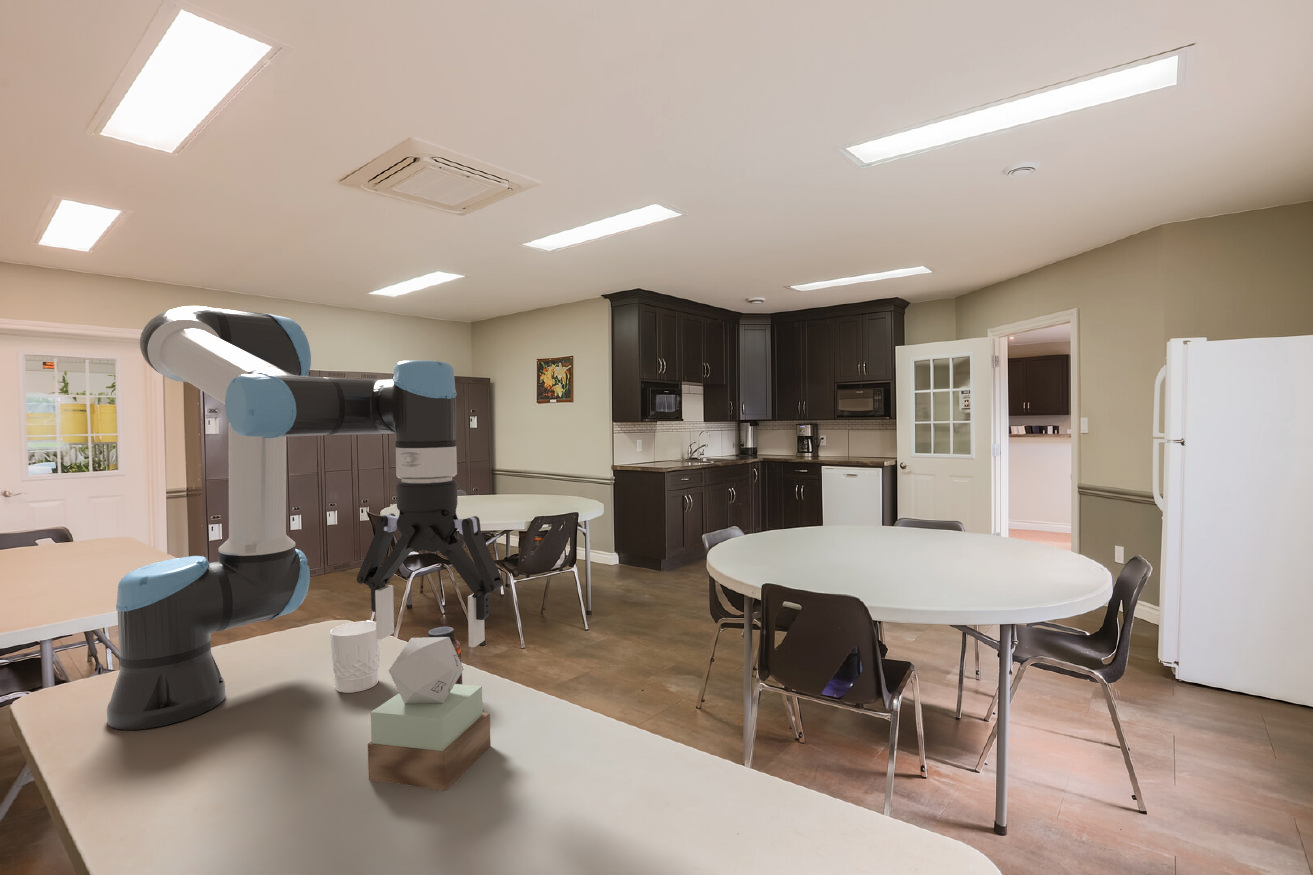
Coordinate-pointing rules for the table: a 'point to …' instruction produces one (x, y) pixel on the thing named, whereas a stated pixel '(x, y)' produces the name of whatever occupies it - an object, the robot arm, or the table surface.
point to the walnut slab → (429, 759)
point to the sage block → (427, 720)
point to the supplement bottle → (450, 633)
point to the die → (426, 670)
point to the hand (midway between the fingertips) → (430, 639)
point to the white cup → (355, 656)
